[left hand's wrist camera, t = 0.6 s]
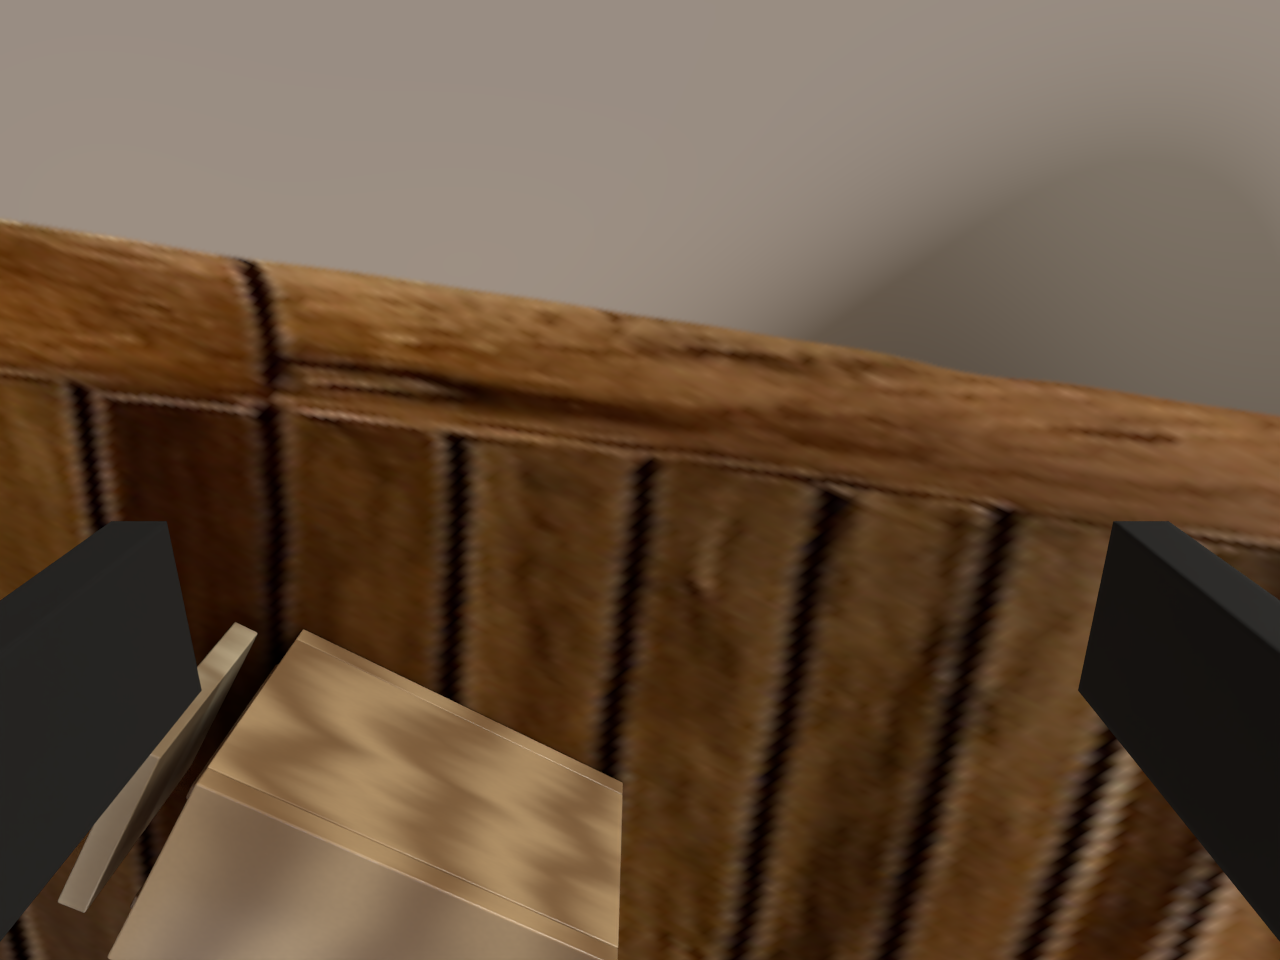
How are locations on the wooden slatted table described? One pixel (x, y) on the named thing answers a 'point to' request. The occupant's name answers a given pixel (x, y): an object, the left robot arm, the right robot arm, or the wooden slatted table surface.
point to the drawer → (158, 774)
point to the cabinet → (381, 833)
